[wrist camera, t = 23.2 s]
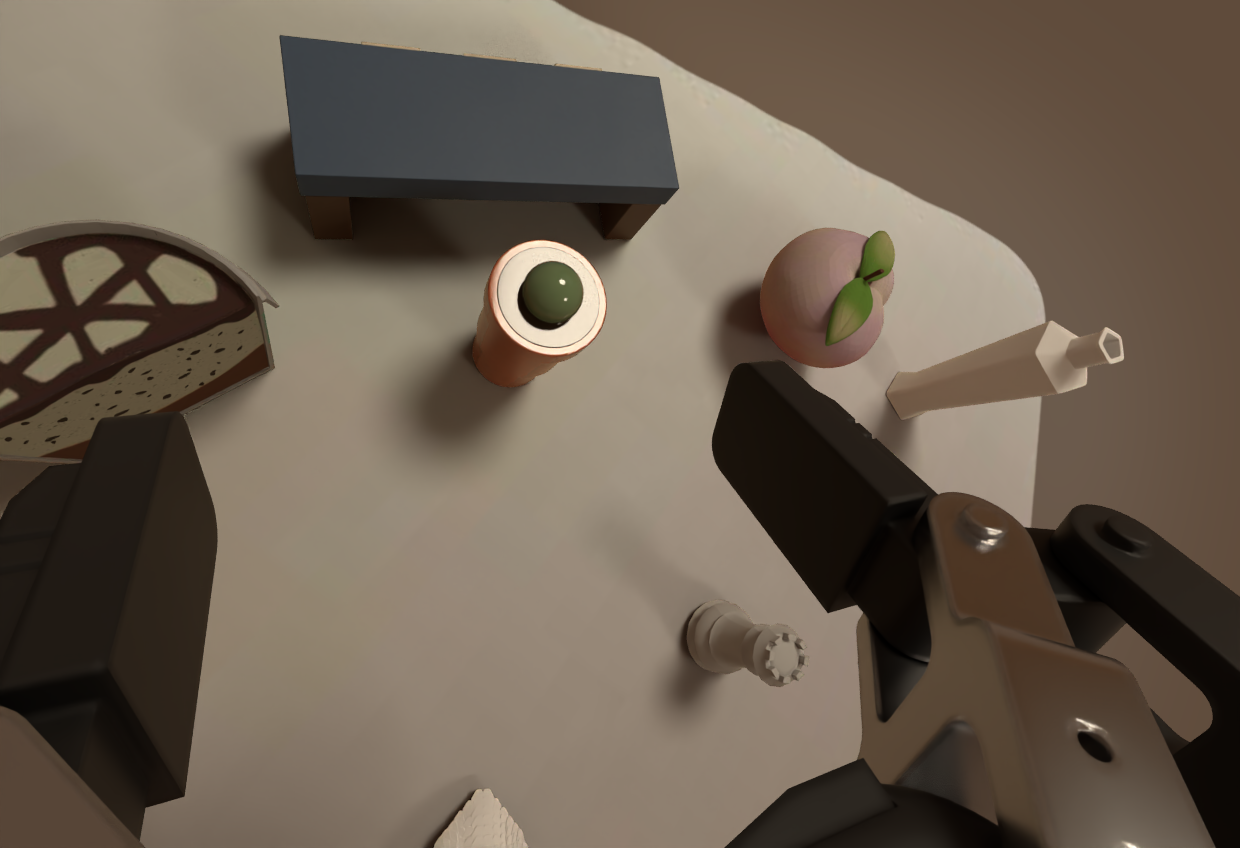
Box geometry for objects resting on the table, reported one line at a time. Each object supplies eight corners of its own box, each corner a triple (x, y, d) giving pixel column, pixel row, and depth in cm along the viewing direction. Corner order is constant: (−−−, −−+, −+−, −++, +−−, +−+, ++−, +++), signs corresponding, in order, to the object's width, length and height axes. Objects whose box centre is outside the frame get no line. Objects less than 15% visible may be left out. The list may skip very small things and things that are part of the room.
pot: (458, 394, 36) (493, 336, 25) (463, 302, 37) (498, 208, 26) (552, 401, 38) (622, 351, 27) (554, 313, 39) (622, 231, 28)
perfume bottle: (914, 437, 49) (1125, 402, 35) (877, 401, 48) (1078, 350, 34) (937, 395, 50) (1147, 345, 36) (901, 359, 50) (1103, 294, 36)
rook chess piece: (672, 617, 39) (740, 638, 32) (728, 587, 41) (805, 600, 34) (698, 683, 39) (772, 720, 32) (753, 650, 41) (835, 677, 33)
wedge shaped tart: (233, 257, 33) (178, 155, 24) (301, 354, 34) (272, 289, 24) (-31, 372, 29) (-227, 300, 19) (51, 482, 29) (-101, 462, 20)
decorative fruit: (751, 240, 46) (844, 169, 37) (836, 293, 48) (944, 238, 39) (713, 349, 43) (802, 301, 34) (805, 399, 45) (912, 367, 36)
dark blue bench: (310, 239, 35) (295, 174, 28) (297, 120, 36) (278, 30, 29) (633, 239, 42) (679, 188, 36) (617, 141, 43) (658, 73, 37)
